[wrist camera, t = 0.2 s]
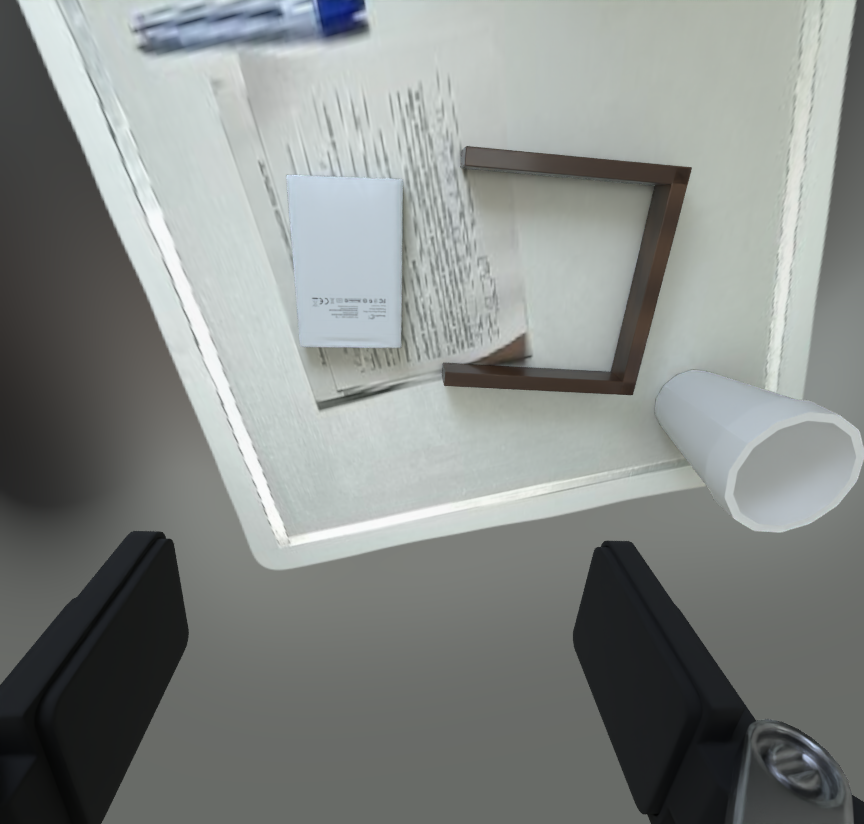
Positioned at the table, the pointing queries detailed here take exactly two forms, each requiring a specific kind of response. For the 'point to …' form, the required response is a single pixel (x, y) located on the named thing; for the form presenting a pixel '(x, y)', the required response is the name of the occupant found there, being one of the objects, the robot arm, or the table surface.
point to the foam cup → (761, 449)
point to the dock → (644, 283)
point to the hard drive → (347, 260)
